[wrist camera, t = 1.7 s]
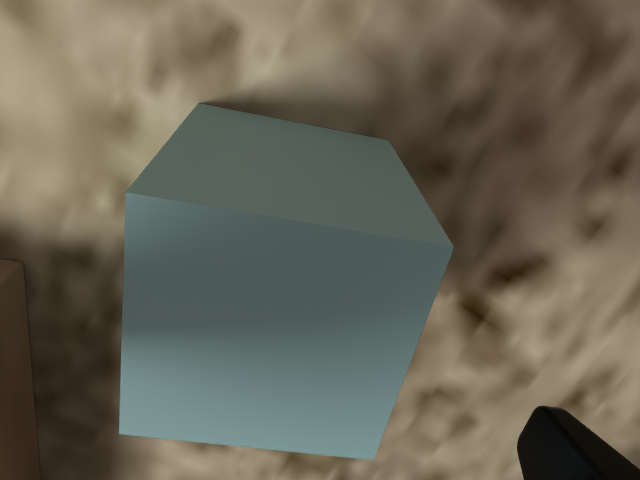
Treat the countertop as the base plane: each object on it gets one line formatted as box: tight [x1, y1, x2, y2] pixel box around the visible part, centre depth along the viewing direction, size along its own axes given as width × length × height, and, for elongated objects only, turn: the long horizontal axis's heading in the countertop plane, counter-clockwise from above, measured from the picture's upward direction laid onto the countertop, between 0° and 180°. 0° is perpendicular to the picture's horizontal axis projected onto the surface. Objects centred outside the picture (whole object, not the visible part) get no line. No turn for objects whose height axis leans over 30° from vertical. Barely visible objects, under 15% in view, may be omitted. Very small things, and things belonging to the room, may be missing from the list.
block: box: [119, 103, 454, 460], centre depth 11 cm, size 5×5×6 cm
